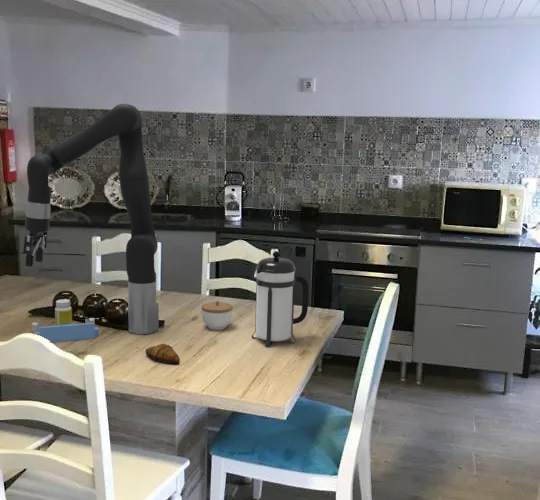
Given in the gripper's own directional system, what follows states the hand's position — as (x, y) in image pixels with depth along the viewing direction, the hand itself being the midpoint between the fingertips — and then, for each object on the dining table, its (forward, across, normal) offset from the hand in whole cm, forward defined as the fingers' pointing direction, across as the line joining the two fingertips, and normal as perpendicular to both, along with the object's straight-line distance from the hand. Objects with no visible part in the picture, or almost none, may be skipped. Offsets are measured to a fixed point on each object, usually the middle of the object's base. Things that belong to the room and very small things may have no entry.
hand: (34, 263), depth 217 cm
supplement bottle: (+21, +1, -12) cm, 24 cm away
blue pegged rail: (+21, -1, -12) cm, 24 cm away
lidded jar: (+16, +8, -62) cm, 65 cm away
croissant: (+18, -26, -50) cm, 59 cm away
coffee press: (+14, -4, -83) cm, 84 cm away
